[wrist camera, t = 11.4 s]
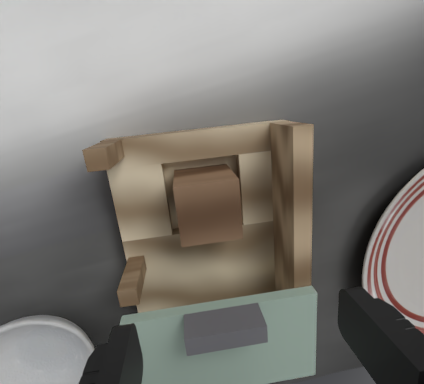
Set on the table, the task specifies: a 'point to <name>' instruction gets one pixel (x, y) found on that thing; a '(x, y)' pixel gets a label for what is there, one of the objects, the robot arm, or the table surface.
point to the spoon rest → (43, 351)
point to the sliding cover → (230, 339)
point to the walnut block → (207, 205)
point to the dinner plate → (399, 254)
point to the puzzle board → (250, 209)
